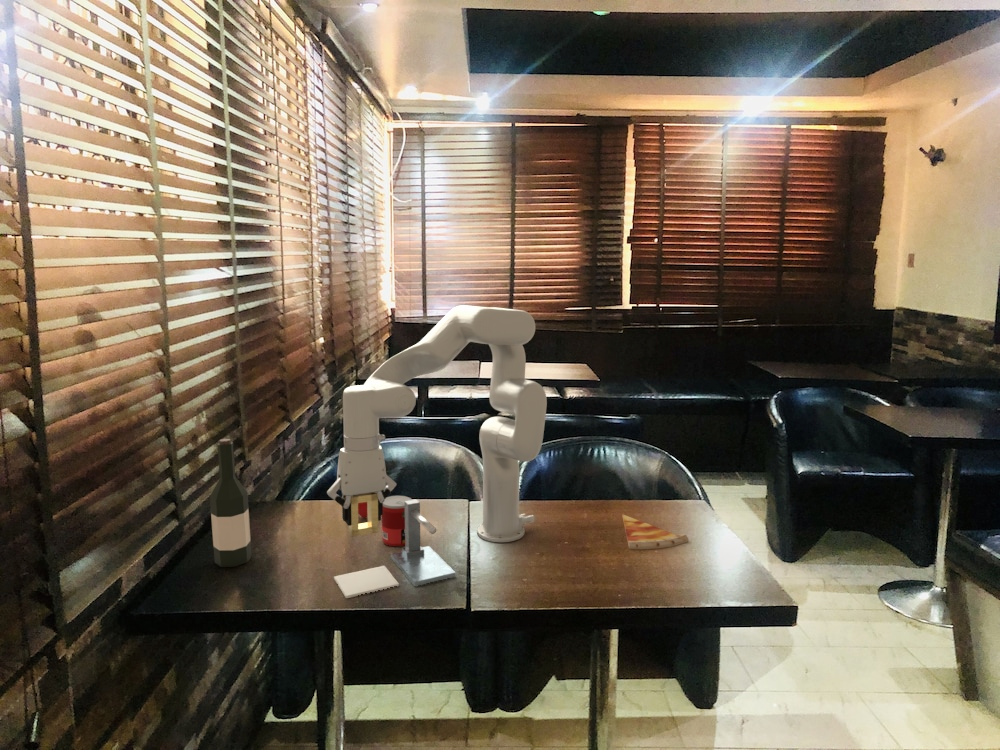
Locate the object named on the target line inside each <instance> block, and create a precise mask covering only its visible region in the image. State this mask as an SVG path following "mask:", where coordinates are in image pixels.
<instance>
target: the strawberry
mask: <svg viewBox="0 0 1000 750" xmlns="http://www.w3.org/2000/svg"><path fill="white" fill-rule="evenodd" d="M358 516H360V517H361V518H363V519H366V518H368V516H367V502H363V503H358Z"/></svg>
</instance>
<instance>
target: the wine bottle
mask: <svg viewBox="0 0 1000 750" xmlns="http://www.w3.org/2000/svg"><path fill="white" fill-rule="evenodd" d="M231 440H232V438H231V439H230V438H221V439H219V440H218V441H219V443H217V444H216V445H217V455H218V468H219V469H218V471H219V479H218V481H217V483H216V485H215V487H214V489H213V490H212V492H211V494H210V495H209V504H210V505H209V506H210V516H211V517H210V518H211V530H212V533H211V534H212V545H213V558H214V559H213V560H214V564H216V565H217V566H218V567H221V568H234V567H238V566H241V565H243V564H246V563H248V562H249V561H250V559H251V558H252V546H251V545H252V543H251V528H250V527H251V526H250V512H249V498H248V496H249V495H248V490H247V489H246V488H245V486H243V484H242V483H241V482H240V480H239V479H238V478H237V477H236V469H235V466H236V465H235V455H234V454H235V453H234V442H233V441H231Z"/></svg>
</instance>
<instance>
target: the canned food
mask: <svg viewBox="0 0 1000 750" xmlns="http://www.w3.org/2000/svg"><path fill="white" fill-rule="evenodd" d="M409 500H413V499H412V498H411V497H408V496H405V495H389V496H387V497H386V499H385V501H384V502H383V515H381V539H382V542H383V543H384V544H385V545H386V546H388V545H389V547H392V546H401V547H405V546H404V545H405V501H409Z"/></svg>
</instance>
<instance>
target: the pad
mask: <svg viewBox="0 0 1000 750" xmlns="http://www.w3.org/2000/svg"><path fill="white" fill-rule="evenodd" d="M333 580H334V581H335V583H336V585H337V584H338V585H337V586H338V588H339V589H340V591H341V592H342V594H343V596H344V598H345V599H349V598H354V597H358V595H359V596H361V594H363V595H366V594H365V593H367V594H370V592H372V593H375V591H376V592H379V591H378V590H380V591H384V590H388V589H387V588H389V589H391V588H390V587H393V588H395V587H394V586H397V587H399V586H400V583H399V582H398V581H397V579H396V578H395V577H394V575H392V573H391V572H390V570H389V569H388V568H387V567H386V565H380V566H377V567H376V566H375V567H371V568H367V569H363V570H359V571H358V570H357V571H352V572H349V573H344V574H339V575H336V576H335V575H334V576H333ZM383 589H384V590H383Z"/></svg>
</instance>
